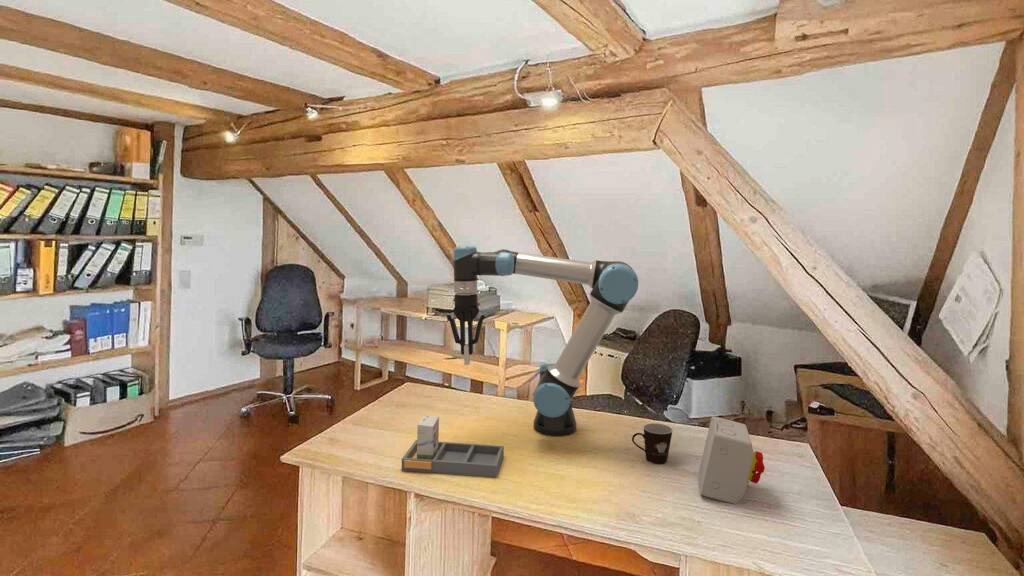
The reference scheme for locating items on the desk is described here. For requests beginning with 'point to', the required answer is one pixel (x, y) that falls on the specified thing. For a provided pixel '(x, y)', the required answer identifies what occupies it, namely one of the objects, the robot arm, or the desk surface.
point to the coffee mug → (656, 442)
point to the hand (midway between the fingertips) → (467, 363)
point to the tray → (457, 459)
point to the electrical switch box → (728, 461)
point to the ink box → (427, 437)
